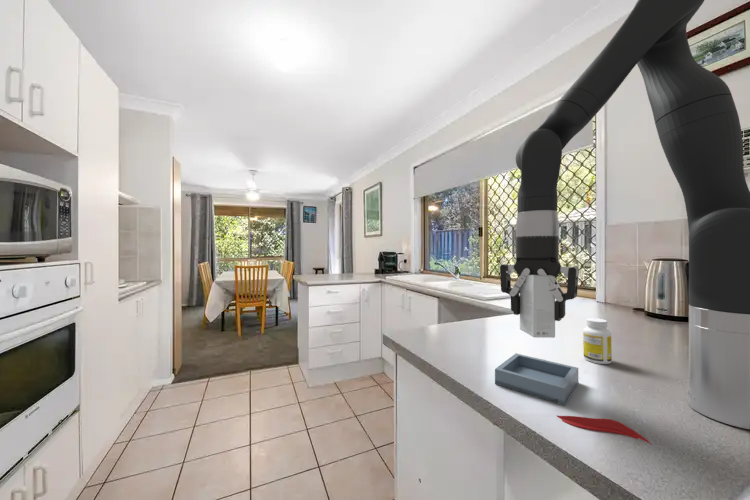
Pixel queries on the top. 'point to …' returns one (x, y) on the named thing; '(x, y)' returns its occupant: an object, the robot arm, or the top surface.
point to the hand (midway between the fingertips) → (536, 316)
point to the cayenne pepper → (601, 426)
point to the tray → (538, 378)
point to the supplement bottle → (597, 341)
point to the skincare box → (537, 307)
